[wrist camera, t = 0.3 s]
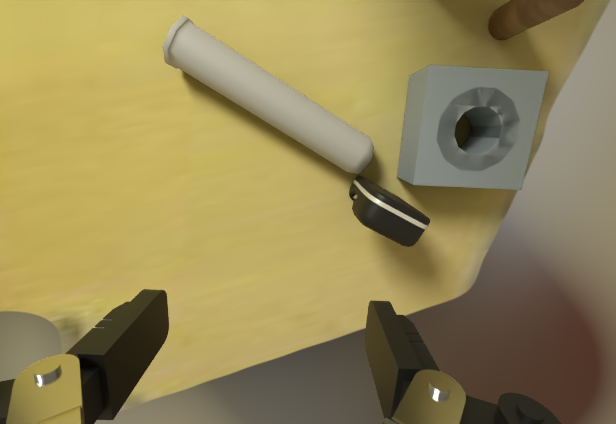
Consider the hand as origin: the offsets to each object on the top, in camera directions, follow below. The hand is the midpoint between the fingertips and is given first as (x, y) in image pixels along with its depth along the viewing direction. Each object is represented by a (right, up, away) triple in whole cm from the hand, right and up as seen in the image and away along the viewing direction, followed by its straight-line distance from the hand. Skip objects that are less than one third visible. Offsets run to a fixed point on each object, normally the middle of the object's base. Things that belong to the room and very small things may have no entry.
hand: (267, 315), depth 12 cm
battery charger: (+10, +6, +28) cm, 30 cm away
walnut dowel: (+24, +26, +22) cm, 41 cm away
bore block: (+19, +14, +25) cm, 35 cm away
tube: (-2, +17, +25) cm, 30 cm away
